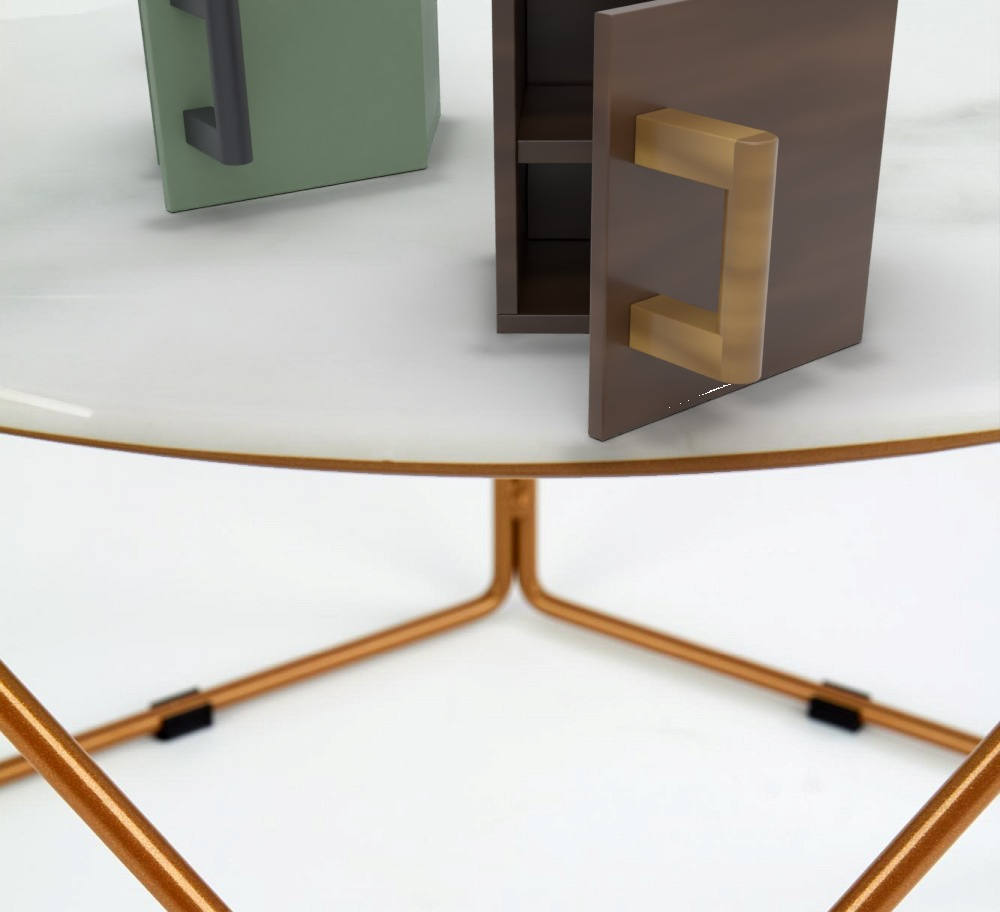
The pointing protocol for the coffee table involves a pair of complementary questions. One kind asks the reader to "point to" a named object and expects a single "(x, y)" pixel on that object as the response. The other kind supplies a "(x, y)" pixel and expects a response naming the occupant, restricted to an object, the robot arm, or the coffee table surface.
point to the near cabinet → (544, 162)
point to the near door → (729, 194)
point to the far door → (283, 94)
